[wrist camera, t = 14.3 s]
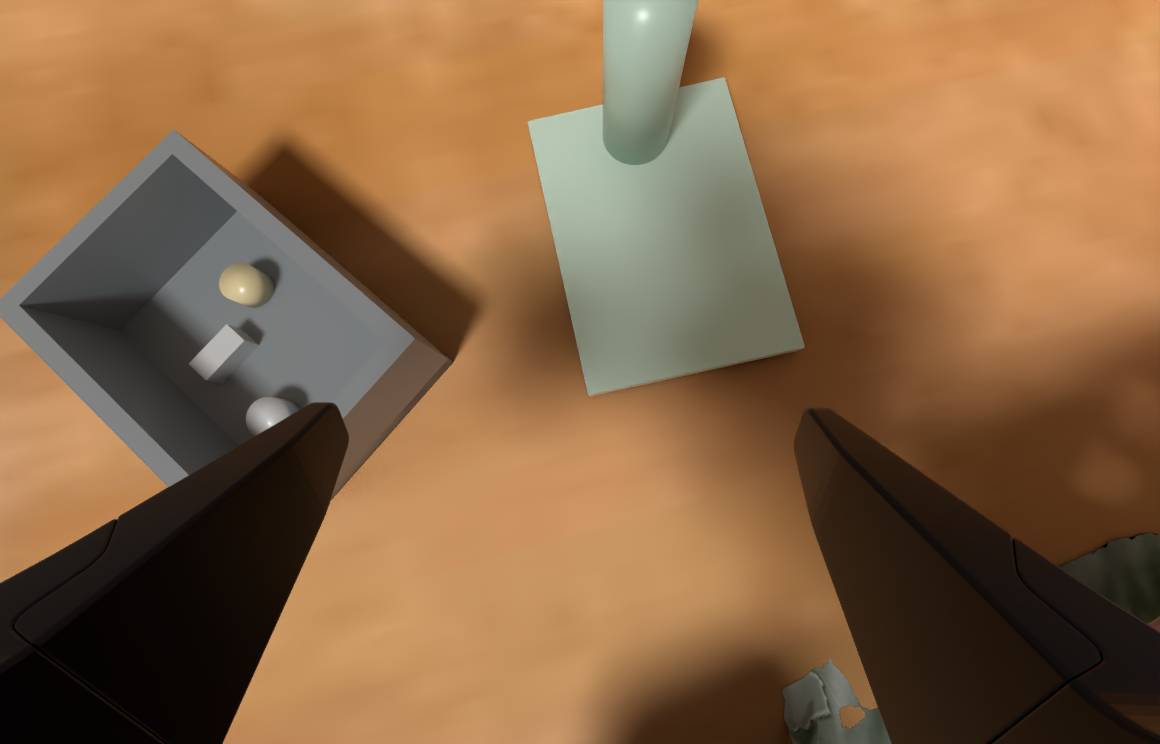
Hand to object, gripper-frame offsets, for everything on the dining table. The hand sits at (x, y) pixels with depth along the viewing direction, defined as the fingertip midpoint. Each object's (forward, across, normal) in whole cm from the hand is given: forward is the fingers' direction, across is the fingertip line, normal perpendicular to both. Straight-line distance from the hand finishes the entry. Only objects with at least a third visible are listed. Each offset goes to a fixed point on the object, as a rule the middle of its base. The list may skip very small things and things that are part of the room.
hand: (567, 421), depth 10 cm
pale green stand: (+16, -3, +2) cm, 17 cm away
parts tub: (+12, +15, +7) cm, 21 cm away
